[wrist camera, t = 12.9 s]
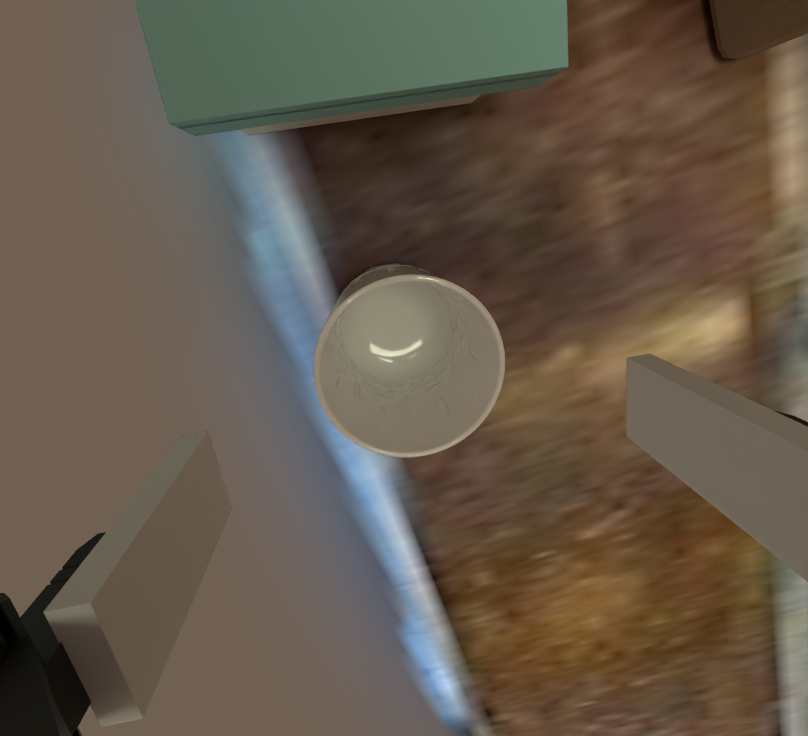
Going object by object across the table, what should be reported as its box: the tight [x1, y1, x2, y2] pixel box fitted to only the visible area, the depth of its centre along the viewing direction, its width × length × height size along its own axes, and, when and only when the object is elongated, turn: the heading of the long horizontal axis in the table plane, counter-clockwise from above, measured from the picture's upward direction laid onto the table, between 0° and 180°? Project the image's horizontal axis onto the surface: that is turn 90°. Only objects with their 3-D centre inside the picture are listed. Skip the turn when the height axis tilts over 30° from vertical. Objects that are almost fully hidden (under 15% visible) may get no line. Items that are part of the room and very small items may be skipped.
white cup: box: [313, 263, 505, 457], centre depth 24 cm, size 8×8×10 cm
